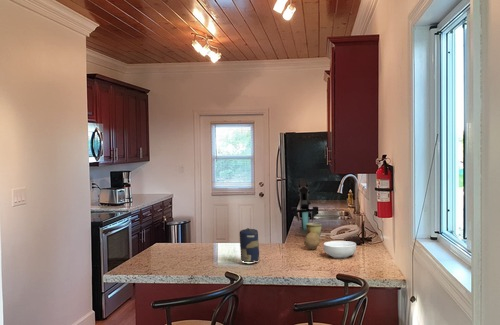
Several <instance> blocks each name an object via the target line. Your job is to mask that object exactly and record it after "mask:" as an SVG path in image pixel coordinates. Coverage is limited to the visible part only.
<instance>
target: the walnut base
mask: <svg viewBox="0 0 500 325" xmlns="http://www.w3.org/2000/svg"><path fill="white" fill-rule="evenodd" d="M307 234H308V231H307V230H303V228H300V229H299V232H297V233H295V234H294V236H295V237H306V236H307Z"/></svg>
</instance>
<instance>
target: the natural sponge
mask: <svg viewBox="0 0 500 325" xmlns="http://www.w3.org/2000/svg"><path fill="white" fill-rule="evenodd" d="M320 243H321V237H320V238H319V236H318V235H317V234H316V233H314V232H311V233H309V234H307V236H305V238H304V240H303V245H304V246H305V247H306V248H308V249H309V250H312V251H314V250H315V249H317V247H319V245H321V244H320Z"/></svg>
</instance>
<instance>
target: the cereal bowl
mask: <svg viewBox="0 0 500 325" xmlns="http://www.w3.org/2000/svg"><path fill="white" fill-rule="evenodd" d="M323 250H324V252H325V253H326V254H327V255H328V256H331V257H332V258H333V259H347V258H348V257H350V256H352V255H354V254H355V253H356V250H357V243H356V242H354V241H348V240H347V241H346V240H331V241H325V242H324V243H323Z"/></svg>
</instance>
